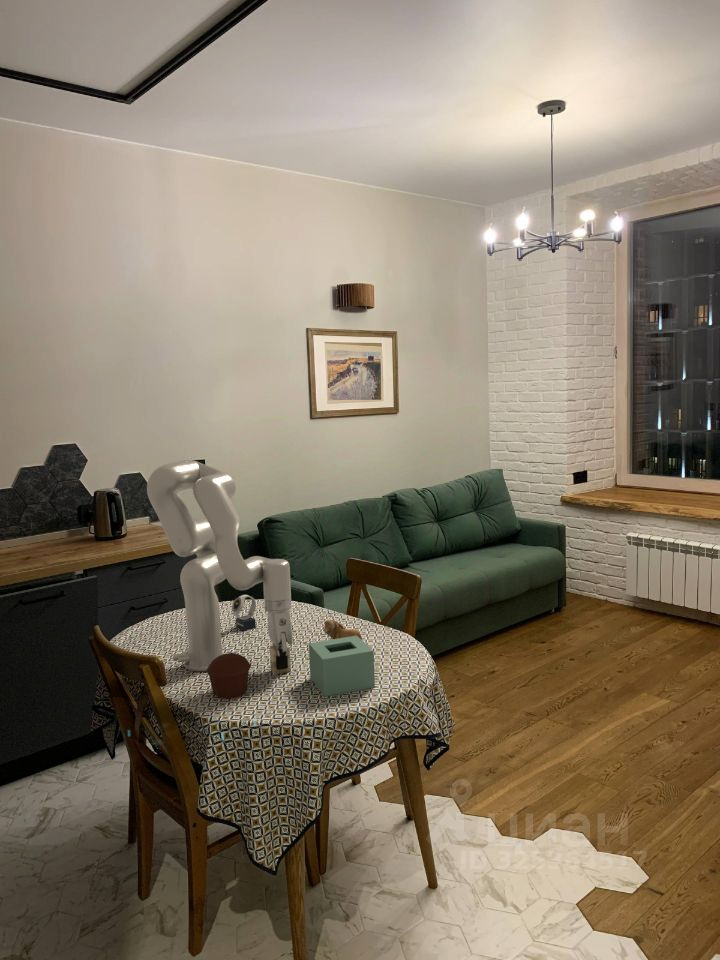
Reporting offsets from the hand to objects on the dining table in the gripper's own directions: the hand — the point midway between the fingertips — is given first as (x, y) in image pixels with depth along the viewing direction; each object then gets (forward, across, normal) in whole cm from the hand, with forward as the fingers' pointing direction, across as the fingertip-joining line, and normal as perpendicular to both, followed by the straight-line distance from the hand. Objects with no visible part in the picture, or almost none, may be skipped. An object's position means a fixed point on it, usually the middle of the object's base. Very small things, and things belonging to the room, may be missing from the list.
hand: (280, 665), depth 205 cm
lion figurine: (+2, +8, -22) cm, 23 cm away
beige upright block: (+1, 0, 0) cm, 1 cm away
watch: (+2, +42, +2) cm, 42 cm away
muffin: (+2, -8, +16) cm, 18 cm away
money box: (+1, -15, -13) cm, 20 cm away
